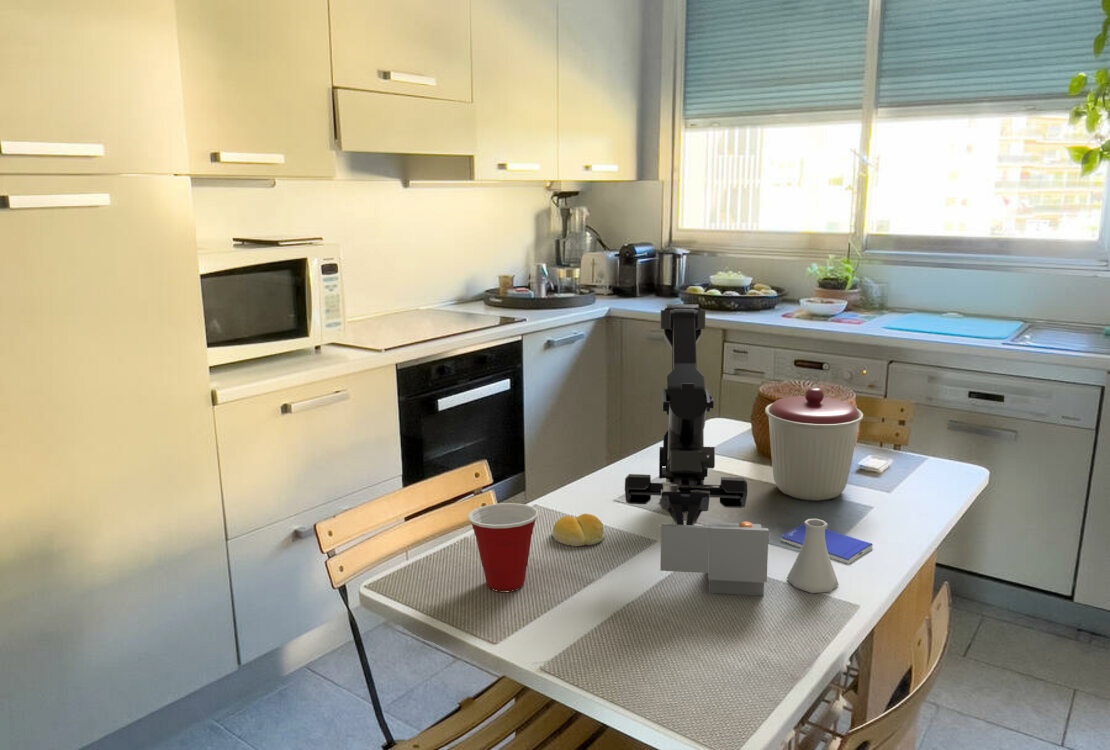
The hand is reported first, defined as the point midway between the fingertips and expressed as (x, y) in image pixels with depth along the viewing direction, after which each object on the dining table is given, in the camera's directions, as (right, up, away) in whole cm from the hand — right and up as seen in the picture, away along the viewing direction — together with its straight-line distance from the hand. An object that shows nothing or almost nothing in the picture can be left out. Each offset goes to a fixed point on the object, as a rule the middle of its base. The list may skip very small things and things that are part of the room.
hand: (684, 542), depth 129 cm
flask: (+20, -7, +2) cm, 21 cm away
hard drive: (+26, -4, +15) cm, 31 cm away
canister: (+30, +2, +39) cm, 49 cm away
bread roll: (-15, -3, +20) cm, 25 cm away
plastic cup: (-27, -7, +3) cm, 28 cm away
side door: (+4, -5, -3) cm, 7 cm away
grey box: (+8, -7, +3) cm, 11 cm away
